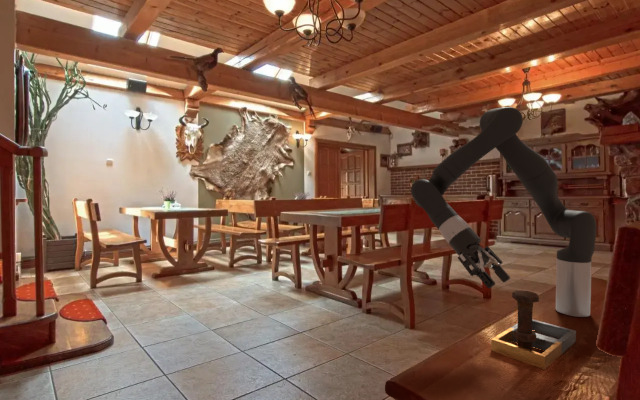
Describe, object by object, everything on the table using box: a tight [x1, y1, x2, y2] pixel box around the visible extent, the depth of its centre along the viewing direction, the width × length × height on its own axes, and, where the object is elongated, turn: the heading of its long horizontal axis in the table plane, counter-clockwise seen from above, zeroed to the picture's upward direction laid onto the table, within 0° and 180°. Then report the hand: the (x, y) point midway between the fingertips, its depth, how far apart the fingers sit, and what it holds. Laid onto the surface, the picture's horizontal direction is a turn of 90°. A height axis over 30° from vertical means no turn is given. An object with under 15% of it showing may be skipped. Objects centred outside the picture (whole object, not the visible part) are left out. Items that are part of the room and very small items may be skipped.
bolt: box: [511, 289, 540, 351], centre depth 88 cm, size 6×5×15 cm
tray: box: [490, 318, 577, 370], centre depth 92 cm, size 22×12×3 cm, turn 129°
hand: (500, 283), depth 92 cm, fingers open, 8 cm apart
